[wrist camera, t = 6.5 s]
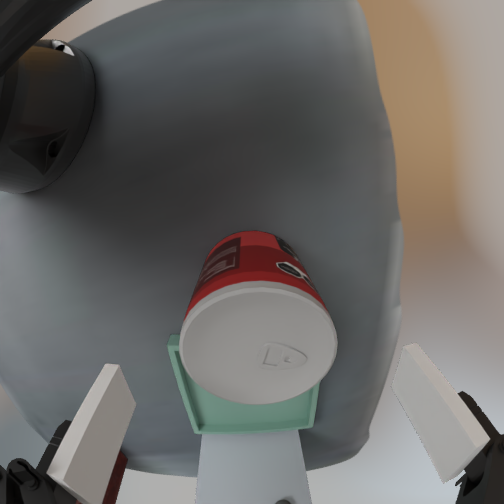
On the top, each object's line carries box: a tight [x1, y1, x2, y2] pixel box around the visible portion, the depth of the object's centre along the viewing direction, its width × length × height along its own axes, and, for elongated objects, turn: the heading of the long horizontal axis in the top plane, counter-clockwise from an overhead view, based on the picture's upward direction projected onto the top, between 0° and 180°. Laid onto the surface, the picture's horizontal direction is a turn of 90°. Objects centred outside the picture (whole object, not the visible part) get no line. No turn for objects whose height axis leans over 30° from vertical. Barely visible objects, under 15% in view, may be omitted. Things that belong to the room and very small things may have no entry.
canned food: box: [179, 231, 338, 405], centre depth 18 cm, size 8×8×11 cm
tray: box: [167, 335, 320, 434], centre depth 26 cm, size 14×14×2 cm
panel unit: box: [195, 430, 312, 504], centre depth 23 cm, size 5×12×16 cm, turn 93°
